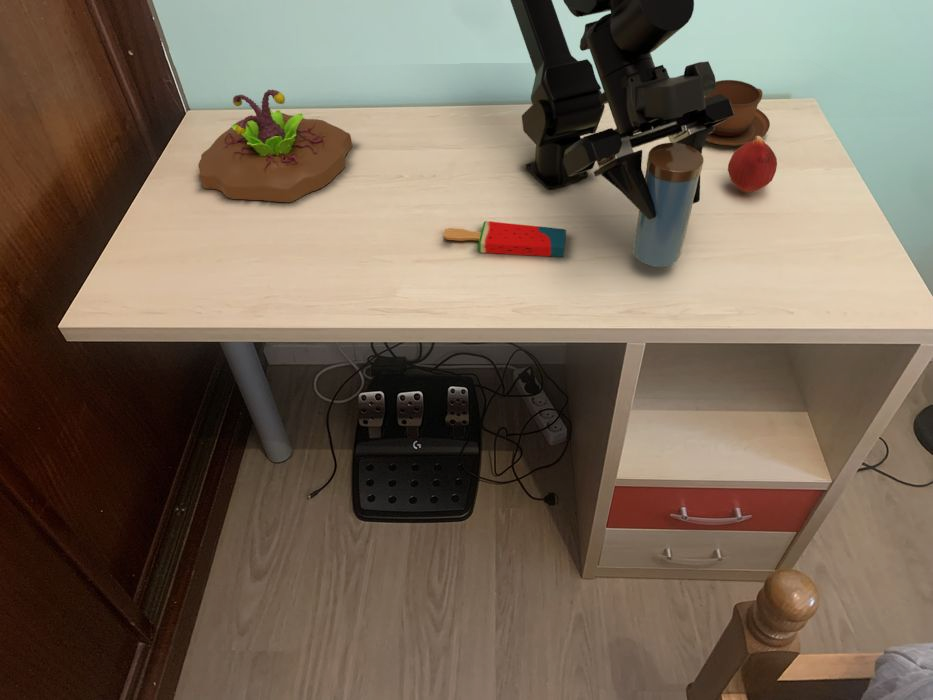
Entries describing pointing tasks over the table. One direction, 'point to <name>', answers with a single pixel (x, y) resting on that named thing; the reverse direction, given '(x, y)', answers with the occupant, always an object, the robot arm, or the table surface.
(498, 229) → the popsicle
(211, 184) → the plant
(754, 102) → the cup and saucer
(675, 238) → the spice jar
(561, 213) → the table surface
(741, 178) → the onion
